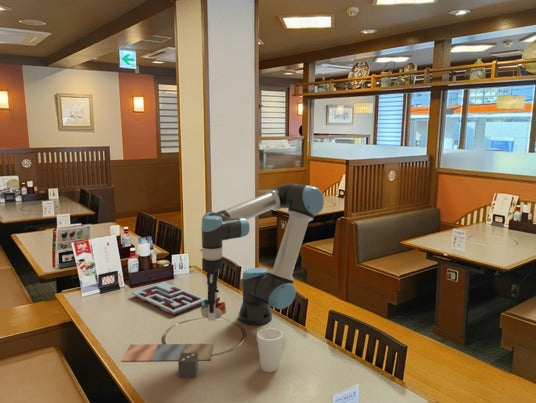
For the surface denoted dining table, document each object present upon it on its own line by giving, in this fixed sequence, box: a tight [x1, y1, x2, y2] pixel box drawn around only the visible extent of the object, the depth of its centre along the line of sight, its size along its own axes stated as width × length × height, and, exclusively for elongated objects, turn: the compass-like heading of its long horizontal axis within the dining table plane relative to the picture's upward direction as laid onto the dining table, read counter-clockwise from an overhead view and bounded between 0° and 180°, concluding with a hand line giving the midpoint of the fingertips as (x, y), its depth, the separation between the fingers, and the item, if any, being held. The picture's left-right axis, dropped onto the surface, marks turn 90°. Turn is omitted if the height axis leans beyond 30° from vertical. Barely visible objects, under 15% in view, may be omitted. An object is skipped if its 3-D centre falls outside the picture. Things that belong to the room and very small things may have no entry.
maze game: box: [131, 281, 208, 317], centre depth 216 cm, size 35×20×3 cm, turn 49°
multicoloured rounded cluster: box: [200, 296, 227, 320], centre depth 164 cm, size 8×10×7 cm
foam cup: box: [256, 327, 284, 373], centre depth 156 cm, size 10×9×13 cm
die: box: [177, 353, 199, 379], centre depth 153 cm, size 6×6×6 cm
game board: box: [121, 343, 215, 362], centre depth 167 cm, size 33×12×1 cm, turn 92°
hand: (212, 314), depth 164 cm, fingers closed on multicoloured rounded cluster, 9 cm apart
